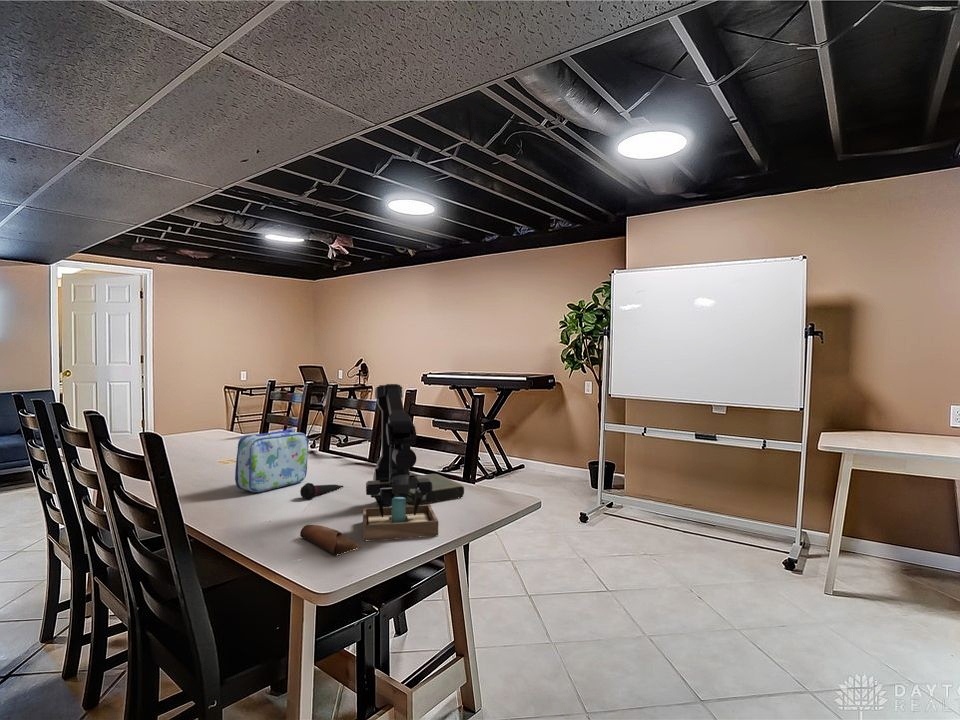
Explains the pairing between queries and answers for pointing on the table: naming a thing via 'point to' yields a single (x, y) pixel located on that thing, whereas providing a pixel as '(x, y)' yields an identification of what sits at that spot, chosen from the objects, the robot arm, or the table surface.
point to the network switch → (436, 490)
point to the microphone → (316, 490)
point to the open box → (412, 527)
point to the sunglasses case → (328, 539)
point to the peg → (398, 509)
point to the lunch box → (271, 460)
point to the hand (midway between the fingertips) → (398, 515)
